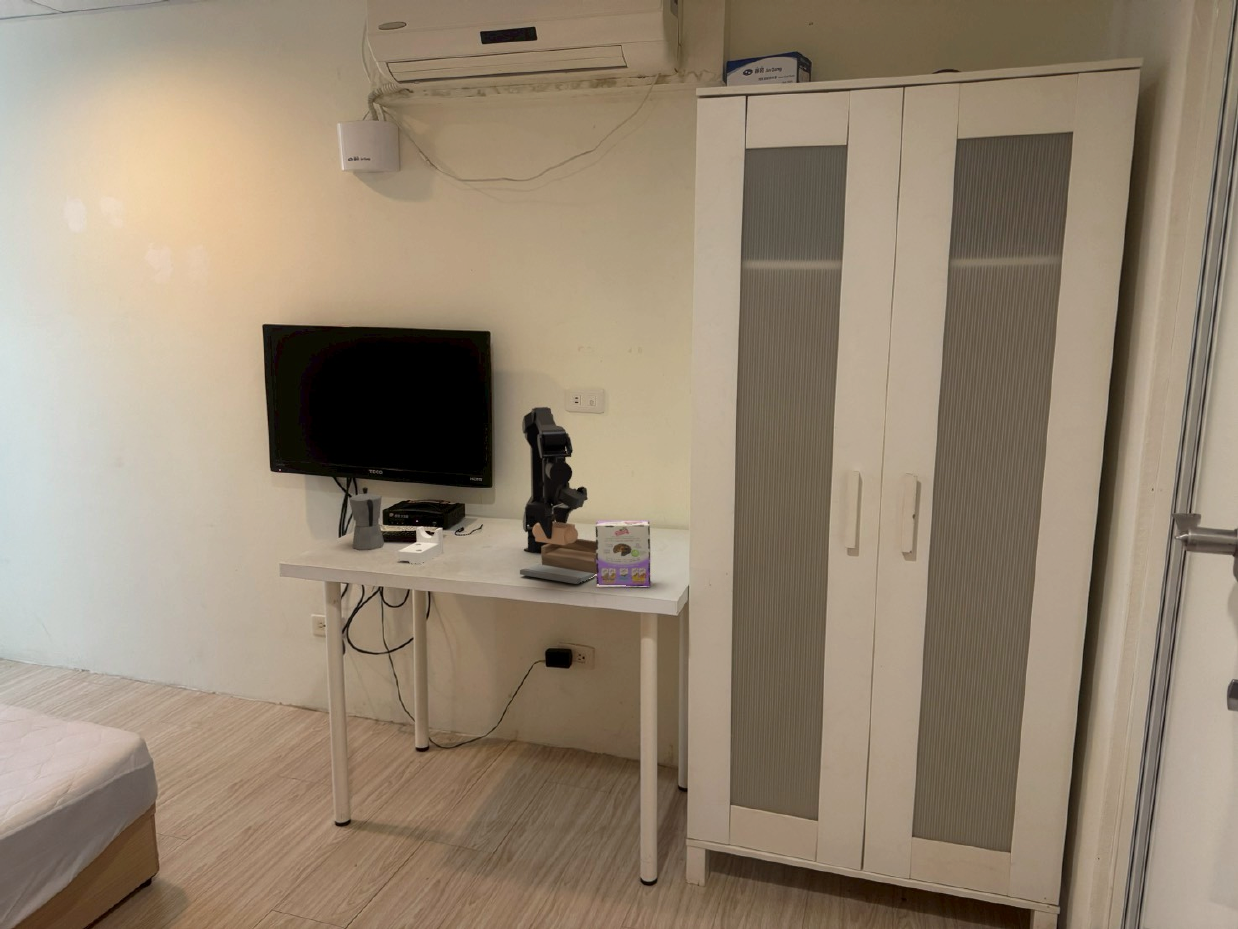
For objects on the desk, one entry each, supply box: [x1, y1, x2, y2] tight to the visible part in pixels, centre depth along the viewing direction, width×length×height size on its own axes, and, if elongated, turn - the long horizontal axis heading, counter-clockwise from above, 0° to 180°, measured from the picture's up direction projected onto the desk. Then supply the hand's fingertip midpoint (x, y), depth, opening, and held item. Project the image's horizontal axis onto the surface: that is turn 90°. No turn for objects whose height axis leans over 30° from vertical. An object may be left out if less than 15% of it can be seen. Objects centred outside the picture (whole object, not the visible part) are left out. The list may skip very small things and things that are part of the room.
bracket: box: [397, 526, 444, 565], centre depth 251 cm, size 13×7×8 cm, turn 163°
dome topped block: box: [532, 521, 579, 545], centre depth 229 cm, size 5×13×4 cm, turn 60°
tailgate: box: [519, 564, 595, 585], centre depth 231 cm, size 1×18×9 cm
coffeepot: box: [349, 486, 385, 551], centre depth 261 cm, size 15×9×18 cm, turn 26°
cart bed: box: [540, 538, 596, 574], centre depth 239 cm, size 8×18×7 cm, turn 61°
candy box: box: [594, 519, 651, 587], centre depth 224 cm, size 14×6×16 cm, turn 88°
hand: (555, 536), depth 229 cm, fingers closed on dome topped block, 5 cm apart
